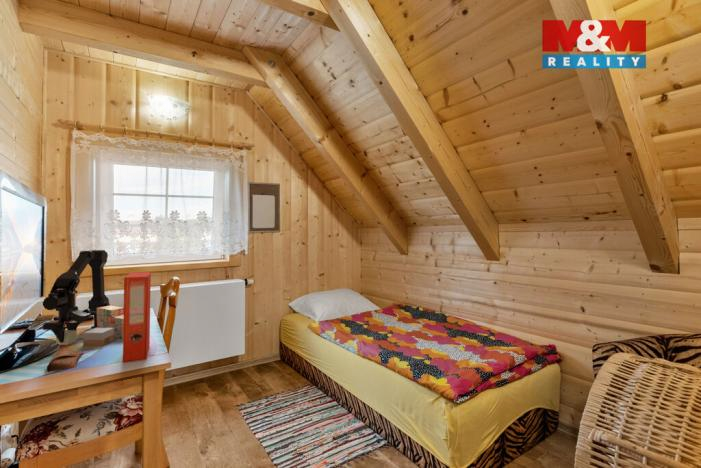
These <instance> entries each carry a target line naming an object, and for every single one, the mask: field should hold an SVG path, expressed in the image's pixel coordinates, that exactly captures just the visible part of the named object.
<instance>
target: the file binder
mask: <svg viewBox="0 0 701 468" xmlns="http://www.w3.org/2000/svg"><path fill="white" fill-rule="evenodd" d="M151 275H152V272H150V271H147V272H145V271H144V272H143V271H141V272H140V271H139V272H129V273H128V274H127V275H125V276H124V278H123V308H124V319H123V338H122V362H123V363H129V362H130V363H131V362H136V361H137V362H138V361H145V360H147V358H148V354H149V349H150V341H151V340H150V339H151V338H150V335H151V327H150V326H151V284H152V283H151V279H152V278H151V277H152V276H151Z"/></svg>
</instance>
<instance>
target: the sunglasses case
mask: <svg viewBox="0 0 701 468" xmlns="http://www.w3.org/2000/svg"><path fill="white" fill-rule="evenodd" d="M82 355H84V352H81V351H76V350H72V349H71V350H70V349H68V348H66V347H65V348H64V347H61V348H59V350H58V351H57V352H56V353H55V355H54V356H53V357H52V358H51V360H50V361H49V363H48V364H47V367H46V371H48V372H58V371H62V370H69V369H75V368H77V364H78V362H79V360H80V358H81V356H82Z"/></svg>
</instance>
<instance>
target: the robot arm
mask: <svg viewBox="0 0 701 468" xmlns="http://www.w3.org/2000/svg"><path fill="white" fill-rule="evenodd" d="M108 256H109V255H108V252H107V251H106V250H105V249H90V250H80V252H79V254H78V257H76V259H75V260H74V261H73V263H72V265H71V266H70V267H69V269H68V270H67V271H65V272H63V273H61V274H60V275H59V276H58V277H57V278H56V279H55V281H54V283H53V286H52V287H51V289H50V292H49V293H48V295H47V297H45V298H44V299H43V301H42V307H43V308H44V309H46V310H48V311H53V310H55V311H56V312H57V317H55V320H49V321H46V322H44V323H43V324H42V331H51V332H52V333H53V334H54V335H55V337H57V338H58V340H59V341H60V342H61V343H63V341H64V333H65V330H77V328H78V326H79V325H81V324H83V322H86V321H88V320H89V317H91V316H93V325H92V326H90V328H91V329H94V328H97V308H99V307H104V306H112V305H111V304H110V299H109V297H107V295H106V294H105V271H104V267H105V265H106V263H107V262H108ZM87 266H89V267H90V268H91V280H92V281H91V282H92V283H91V284H92V285H91V287H92V297H91V299H90V300H88V303H87V304H88V308H86V309H83V310H81V309H79V307H78V306H77V305H76V294H78V290H76V289H77V287H79V285H80V282H81V280H80V277H81V275H82V273H83V272H84V271H85V269H86V268H87Z"/></svg>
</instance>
